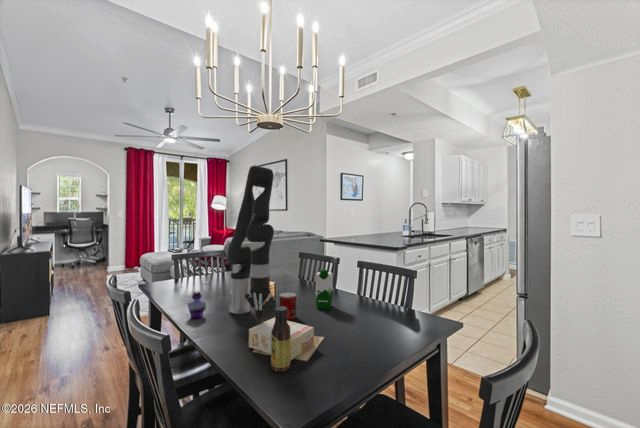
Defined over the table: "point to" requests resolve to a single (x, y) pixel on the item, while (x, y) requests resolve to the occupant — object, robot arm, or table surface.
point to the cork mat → (307, 353)
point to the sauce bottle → (280, 341)
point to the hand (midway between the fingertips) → (260, 318)
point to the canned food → (289, 304)
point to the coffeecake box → (299, 335)
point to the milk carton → (324, 289)
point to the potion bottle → (196, 306)
